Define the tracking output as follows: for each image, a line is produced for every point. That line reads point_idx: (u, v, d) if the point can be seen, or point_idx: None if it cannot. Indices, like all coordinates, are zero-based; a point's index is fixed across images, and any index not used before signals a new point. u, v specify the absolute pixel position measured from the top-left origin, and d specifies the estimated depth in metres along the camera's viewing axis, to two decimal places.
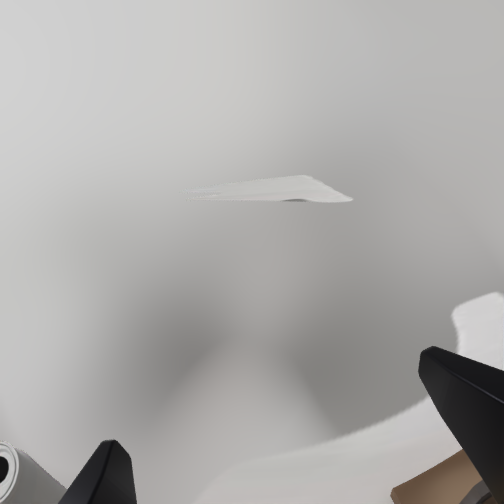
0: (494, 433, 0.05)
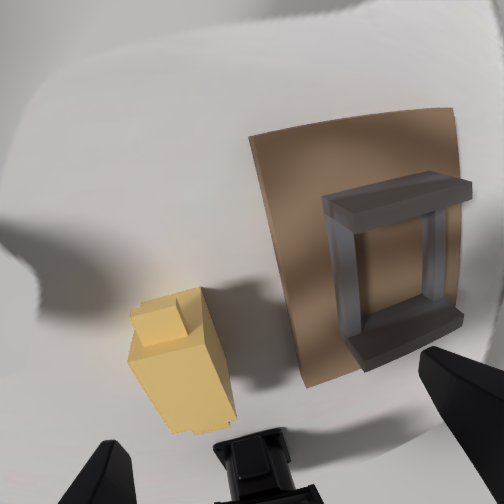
0: (494, 433, 0.05)
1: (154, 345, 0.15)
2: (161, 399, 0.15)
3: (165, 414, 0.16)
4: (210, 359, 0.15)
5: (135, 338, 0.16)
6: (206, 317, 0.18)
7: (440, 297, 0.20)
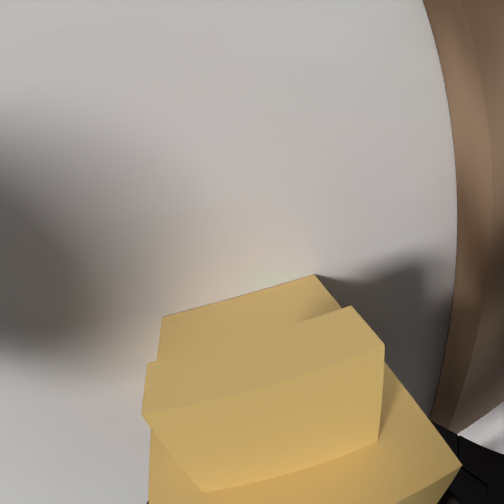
0: None
1: (248, 493, 0.03)
2: None
3: None
4: (441, 493, 0.03)
5: (161, 446, 0.04)
6: None
7: None
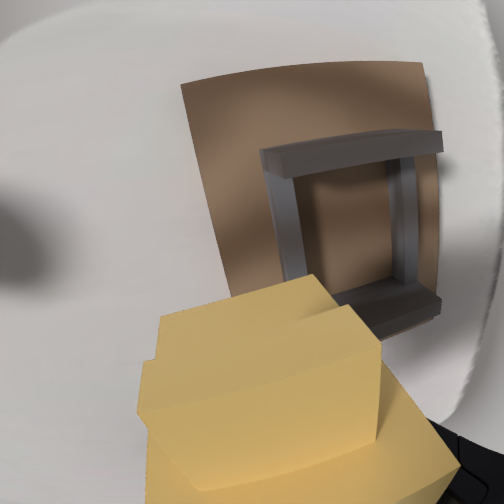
0: None
1: (245, 492, 0.03)
2: None
3: None
4: (439, 493, 0.03)
5: (158, 446, 0.04)
6: None
7: (414, 279, 0.18)
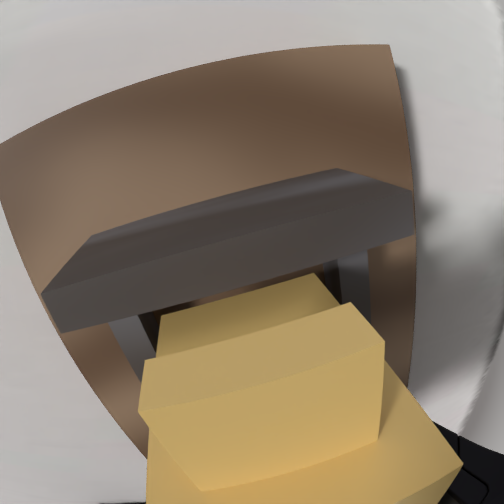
0: None
1: (247, 492, 0.03)
2: None
3: None
4: (441, 492, 0.03)
5: (159, 445, 0.04)
6: None
7: None
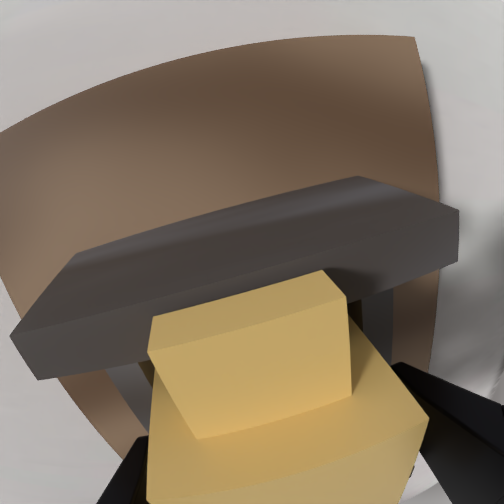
0: (459, 458, 0.05)
1: (237, 438, 0.04)
2: None
3: None
4: (415, 452, 0.04)
5: (161, 403, 0.05)
6: None
7: None
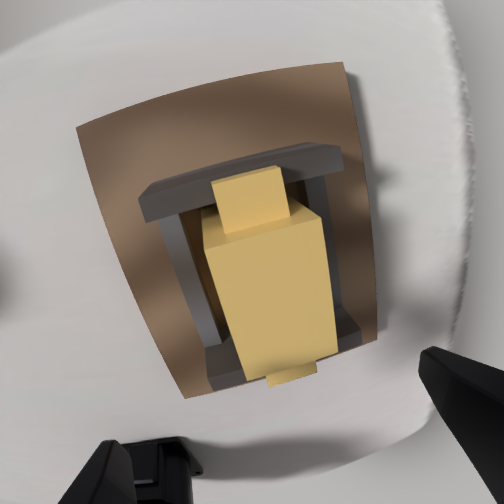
0: (494, 433, 0.05)
1: (242, 230, 0.11)
2: (243, 318, 0.12)
3: (244, 346, 0.12)
4: (324, 245, 0.11)
5: (207, 231, 0.12)
6: None
7: (337, 305, 0.18)
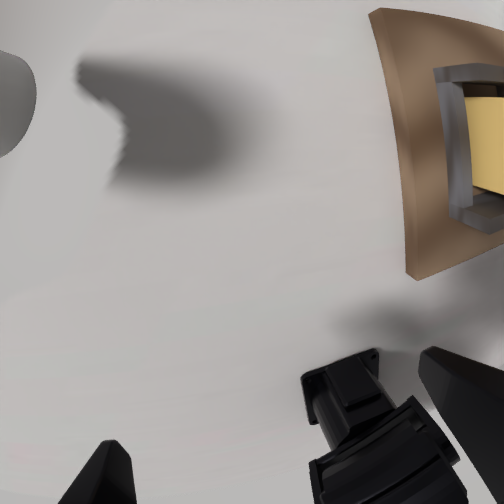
0: (494, 433, 0.05)
1: None
2: None
3: None
4: None
5: None
6: None
7: None
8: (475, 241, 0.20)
